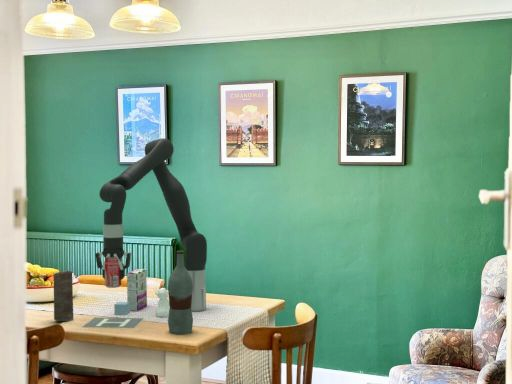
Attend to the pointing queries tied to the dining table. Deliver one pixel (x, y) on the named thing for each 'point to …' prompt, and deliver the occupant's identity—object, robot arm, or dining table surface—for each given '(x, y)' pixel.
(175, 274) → the bottle
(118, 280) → the soda can
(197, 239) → the robot arm
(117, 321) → the letter board
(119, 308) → the blue block
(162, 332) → the dining table surface
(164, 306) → the seated beast figurine
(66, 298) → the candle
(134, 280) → the candy bar box
